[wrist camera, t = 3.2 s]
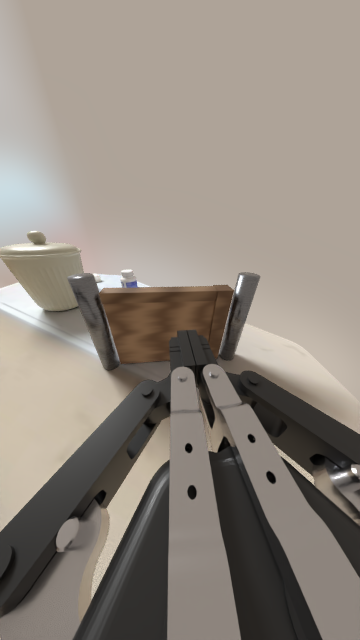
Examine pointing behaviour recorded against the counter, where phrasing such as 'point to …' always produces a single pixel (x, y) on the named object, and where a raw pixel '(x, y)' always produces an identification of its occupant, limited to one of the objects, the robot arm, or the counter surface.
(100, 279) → the soap
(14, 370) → the counter surface
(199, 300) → the gate leaf
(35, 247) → the canister
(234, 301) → the gate posts
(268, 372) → the counter surface
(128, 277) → the pill bottle
